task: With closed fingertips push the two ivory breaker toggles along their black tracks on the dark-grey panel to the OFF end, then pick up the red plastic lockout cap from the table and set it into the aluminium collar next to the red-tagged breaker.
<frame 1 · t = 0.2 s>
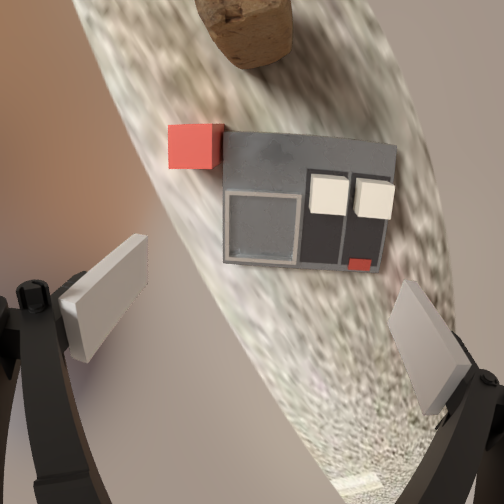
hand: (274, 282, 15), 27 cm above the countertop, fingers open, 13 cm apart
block: (254, 33, 33), on the countertop
cap: (204, 142, 39), on the countertop
toggle b: (328, 193, 35), point 5 cm above the countertop, slide at 0.0 cm
panel: (306, 199, 41), on the countertop
toggle a: (373, 198, 35), point 5 cm above the countertop, slide at 0.0 cm
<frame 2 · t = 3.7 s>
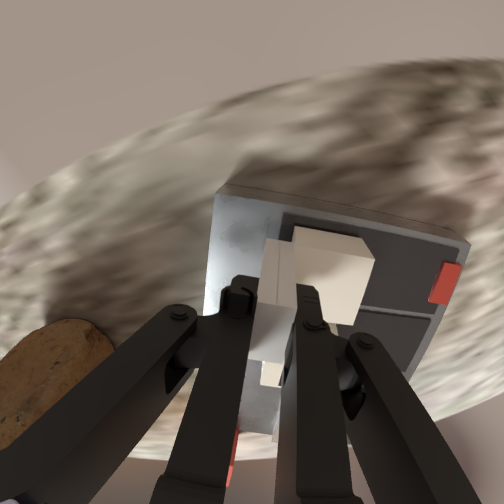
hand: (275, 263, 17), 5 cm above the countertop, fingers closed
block: (80, 344, 28), on the countertop
toggle b: (298, 351, 19), point 5 cm above the countertop, slide at 0.0 cm
panel: (315, 333, 24), on the countertop
toggle a: (324, 275, 17), point 5 cm above the countertop, slide at 0.3 cm, touching gripper
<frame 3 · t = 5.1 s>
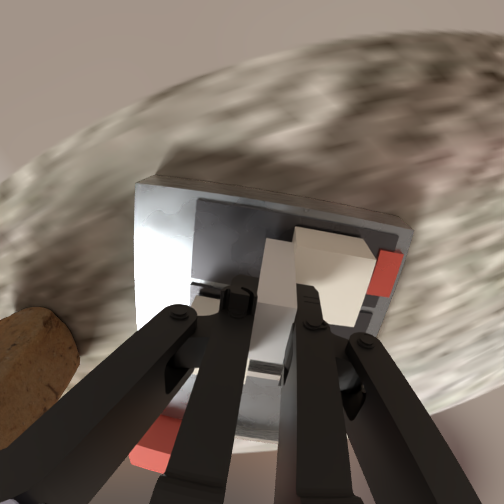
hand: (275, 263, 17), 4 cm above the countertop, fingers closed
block: (45, 332, 28), on the countertop
cap: (171, 409, 30), on the countertop
toggle b: (219, 340, 19), point 5 cm above the countertop, slide at 0.0 cm
panel: (254, 325, 24), on the countertop
toggle a: (324, 276, 17), point 5 cm above the countertop, slide at 5.2 cm, touching gripper
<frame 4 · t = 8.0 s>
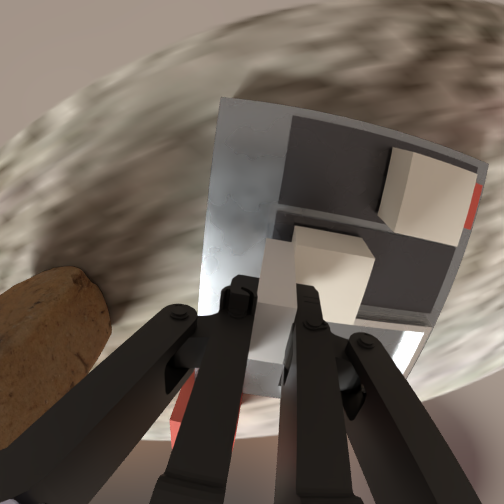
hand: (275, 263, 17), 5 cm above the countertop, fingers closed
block: (69, 299, 26), on the countertop
cap: (216, 385, 28), on the countertop
toggle b: (324, 274, 17), point 5 cm above the countertop, slide at 0.6 cm, touching gripper
panel: (328, 271, 22), on the countertop
toggle a: (426, 195, 15), point 5 cm above the countertop, slide at 5.2 cm
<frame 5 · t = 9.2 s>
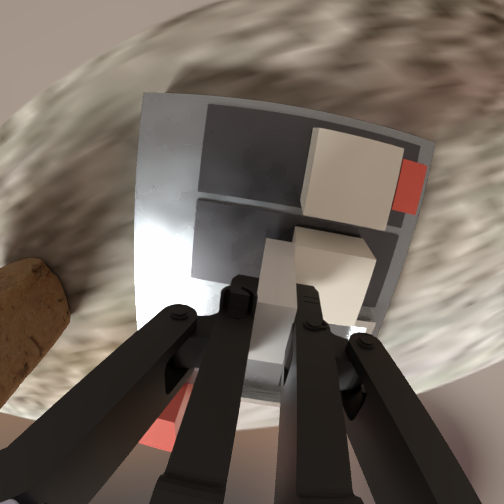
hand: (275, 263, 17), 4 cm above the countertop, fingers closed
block: (35, 289, 26), on the countertop
cap: (169, 375, 28), on the countertop
toggle b: (324, 276, 17), point 5 cm above the countertop, slide at 5.2 cm, touching gripper
panel: (265, 261, 22), on the countertop
toggle a: (348, 175, 15), point 5 cm above the countertop, slide at 5.2 cm
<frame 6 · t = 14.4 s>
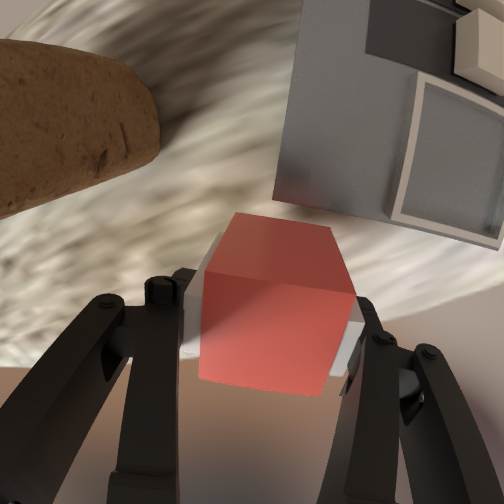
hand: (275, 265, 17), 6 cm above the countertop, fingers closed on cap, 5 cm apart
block: (106, 130, 21), on the countertop
cap: (275, 262, 17), point 6 cm above the countertop, touching gripper
toggle b: (492, 54, 11), point 5 cm above the countertop, slide at 5.2 cm
panel: (417, 74, 17), on the countertop
when the fingers open (4 cm above the countertop, at t = 18.1 s): cap stays where it is, resting on panel.
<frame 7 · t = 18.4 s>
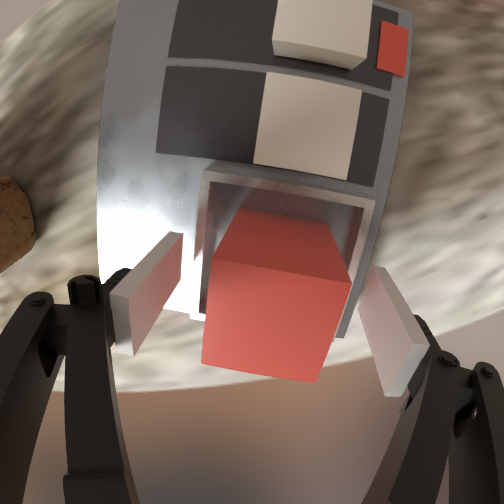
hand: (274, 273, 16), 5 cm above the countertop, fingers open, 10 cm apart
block: (5, 216, 23), on the countertop
cap: (275, 256, 18), point 3 cm above the countertop, touching panel
toggle b: (305, 125, 14), point 5 cm above the countertop, slide at 5.2 cm
panel: (243, 148, 19), on the countertop
toggle a: (321, 18, 11), point 5 cm above the countertop, slide at 5.2 cm
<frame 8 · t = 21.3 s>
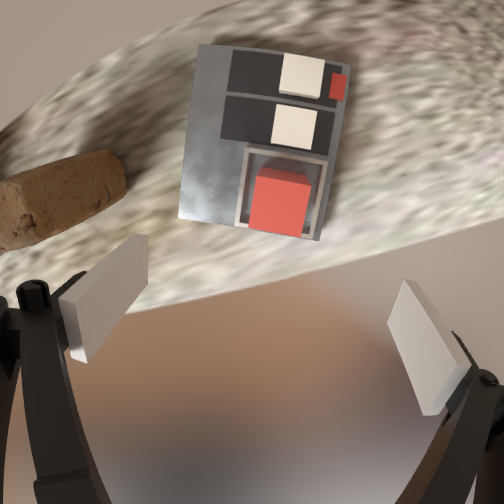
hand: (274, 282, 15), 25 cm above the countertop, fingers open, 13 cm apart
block: (98, 178, 40), on the countertop
cap: (280, 191, 35), point 3 cm above the countertop, touching panel
toggle b: (293, 126, 31), point 5 cm above the countertop, slide at 5.2 cm
panel: (262, 138, 36), on the countertop
toggle a: (301, 76, 28), point 5 cm above the countertop, slide at 5.2 cm
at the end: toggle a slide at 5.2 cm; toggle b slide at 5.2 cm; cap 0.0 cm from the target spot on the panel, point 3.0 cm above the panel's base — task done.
